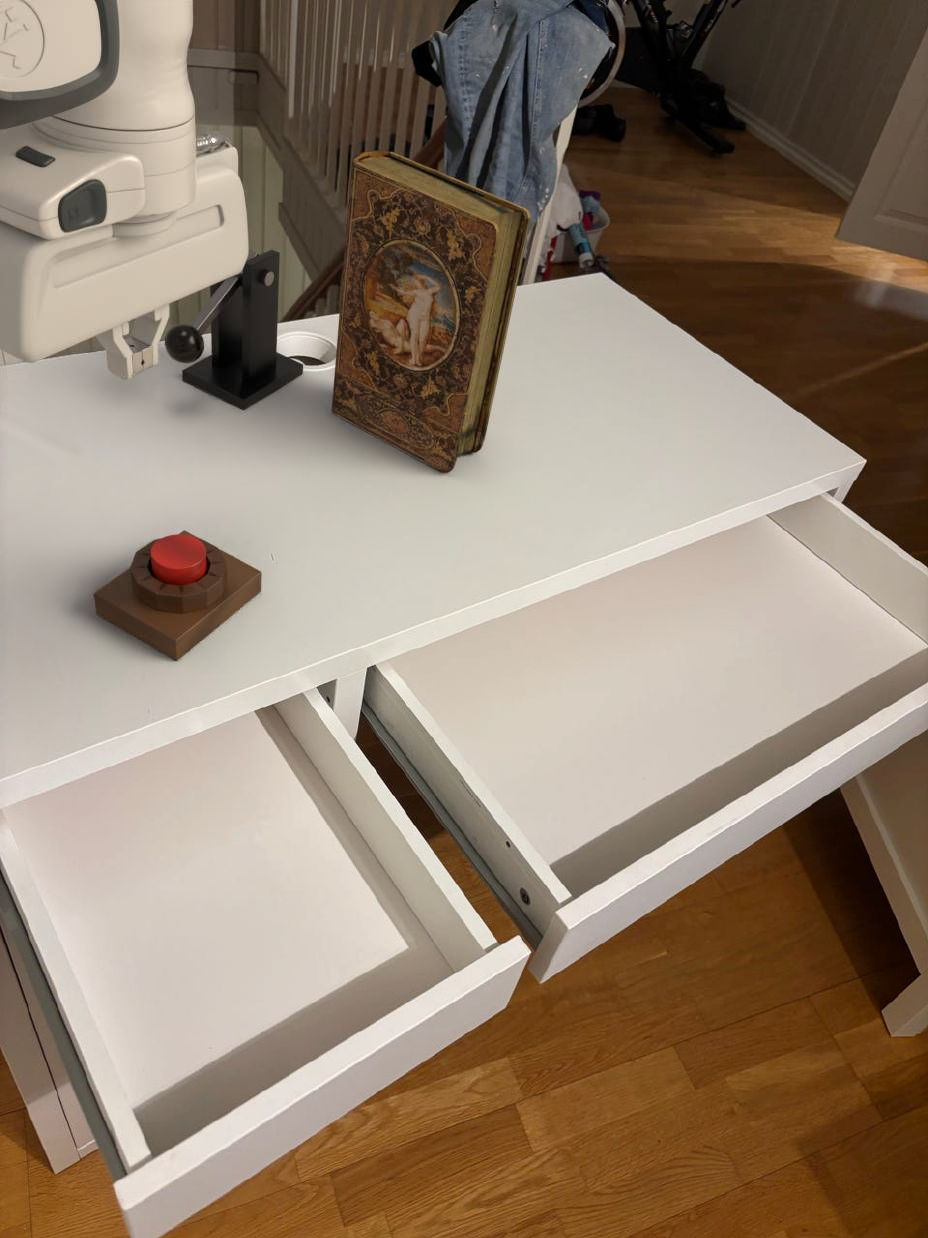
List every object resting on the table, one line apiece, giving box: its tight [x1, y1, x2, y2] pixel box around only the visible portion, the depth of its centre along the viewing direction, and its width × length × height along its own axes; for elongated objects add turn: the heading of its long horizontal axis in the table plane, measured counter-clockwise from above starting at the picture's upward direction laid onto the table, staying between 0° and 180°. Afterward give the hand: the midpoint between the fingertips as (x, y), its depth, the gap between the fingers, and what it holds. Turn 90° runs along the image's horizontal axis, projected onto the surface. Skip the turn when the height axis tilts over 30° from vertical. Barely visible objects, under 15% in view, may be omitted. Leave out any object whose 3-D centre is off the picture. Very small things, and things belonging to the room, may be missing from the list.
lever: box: [164, 248, 260, 364], centre depth 90 cm, size 13×4×4 cm, turn 150°
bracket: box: [181, 249, 304, 411], centre depth 95 cm, size 10×8×14 cm
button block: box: [92, 529, 263, 661], centre depth 74 cm, size 10×8×4 cm
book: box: [331, 150, 531, 474], centre depth 89 cm, size 16×6×25 cm, turn 56°
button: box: [151, 533, 206, 585], centre depth 72 cm, size 4×4×2 cm
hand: (133, 369), depth 64 cm, fingers closed
